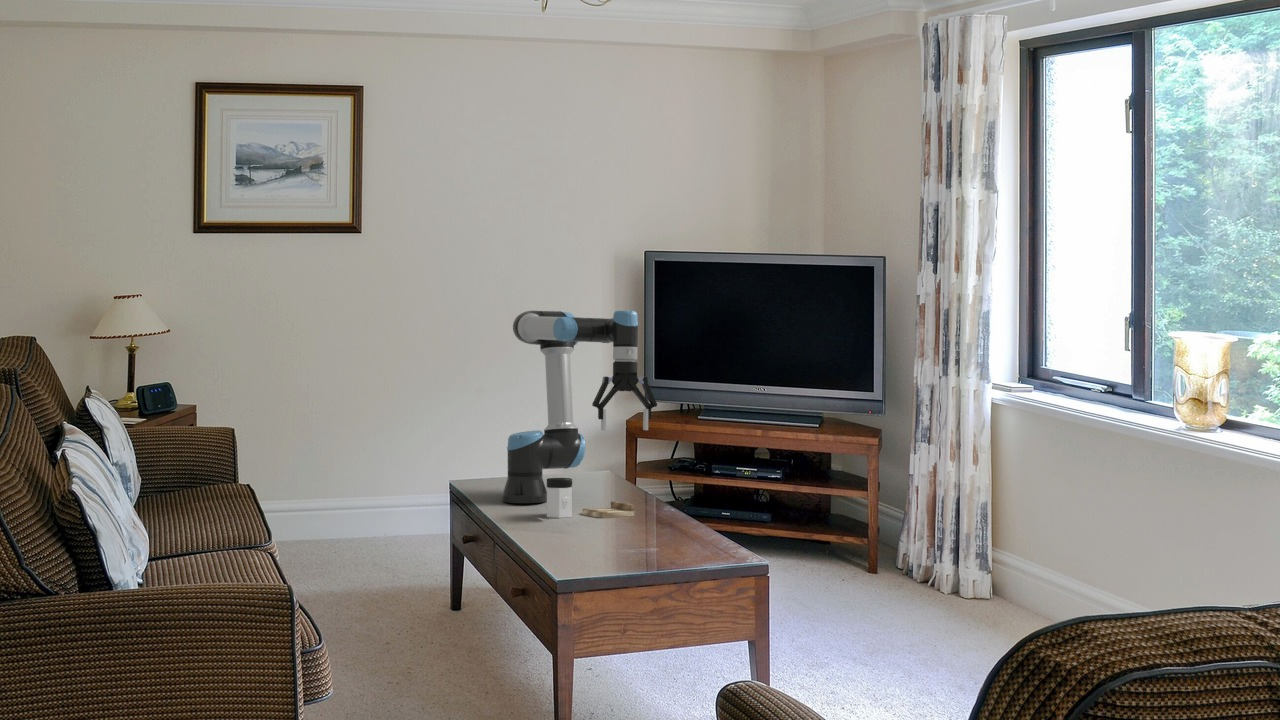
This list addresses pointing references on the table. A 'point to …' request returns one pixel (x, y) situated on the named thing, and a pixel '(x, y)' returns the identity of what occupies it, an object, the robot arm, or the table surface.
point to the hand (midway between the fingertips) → (624, 430)
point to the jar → (559, 497)
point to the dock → (611, 511)
